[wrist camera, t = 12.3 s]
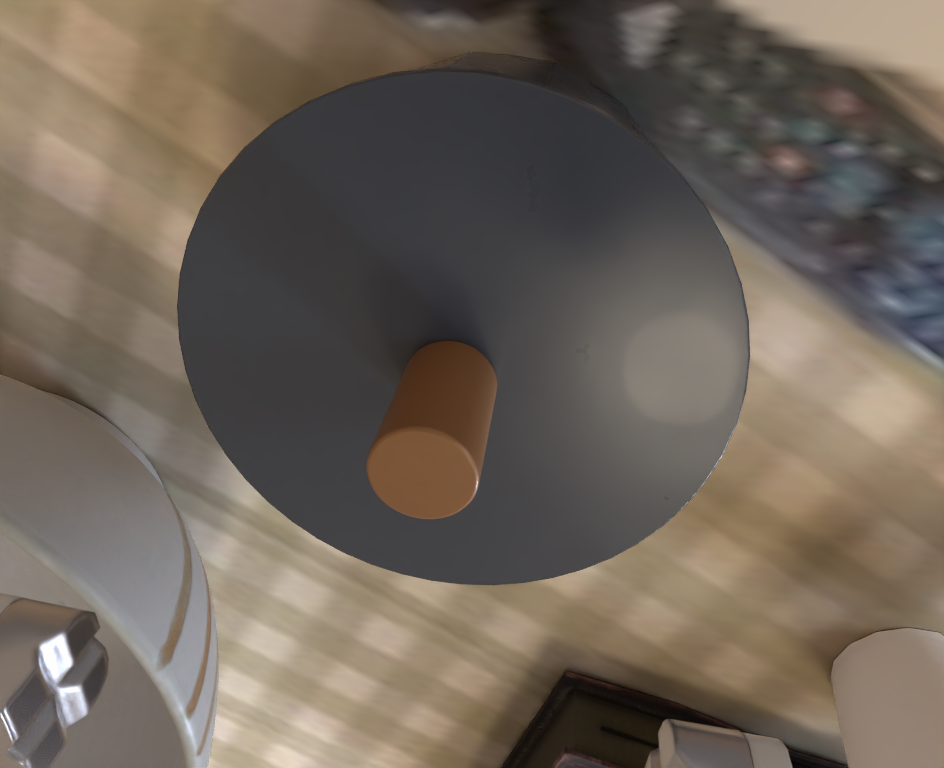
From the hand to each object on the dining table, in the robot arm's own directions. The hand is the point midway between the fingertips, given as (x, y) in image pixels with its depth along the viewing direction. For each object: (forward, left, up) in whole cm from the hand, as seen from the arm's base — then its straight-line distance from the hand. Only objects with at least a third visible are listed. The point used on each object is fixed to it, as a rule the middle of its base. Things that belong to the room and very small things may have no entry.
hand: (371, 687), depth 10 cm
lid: (0, 0, -10) cm, 10 cm away
